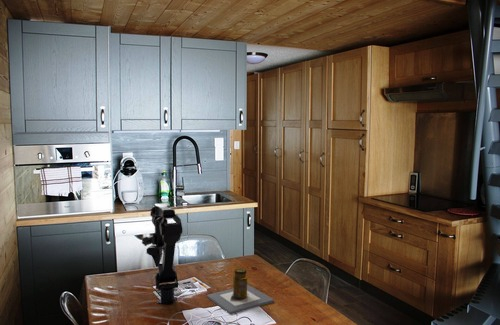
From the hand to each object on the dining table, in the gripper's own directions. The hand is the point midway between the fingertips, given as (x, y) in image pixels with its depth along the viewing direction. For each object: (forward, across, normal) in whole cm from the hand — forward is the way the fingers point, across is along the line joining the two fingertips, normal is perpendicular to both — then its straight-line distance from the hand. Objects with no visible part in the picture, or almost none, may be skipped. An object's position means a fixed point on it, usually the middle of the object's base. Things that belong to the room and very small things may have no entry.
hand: (161, 263), depth 191 cm
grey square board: (+12, +3, +38) cm, 40 cm away
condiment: (+11, +4, +38) cm, 40 cm away
